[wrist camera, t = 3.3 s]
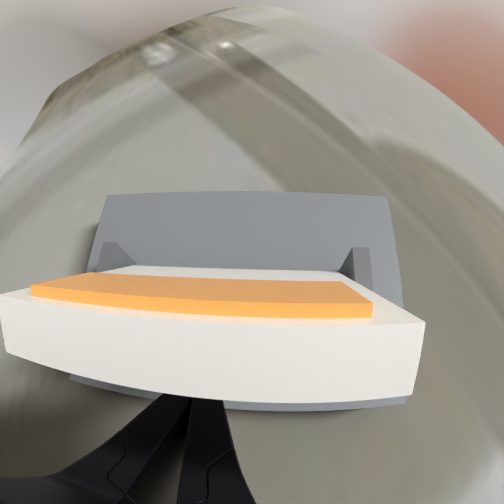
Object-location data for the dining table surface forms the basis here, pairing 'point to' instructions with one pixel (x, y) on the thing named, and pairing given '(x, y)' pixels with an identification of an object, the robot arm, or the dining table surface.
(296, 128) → the dining table surface
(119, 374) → the panel
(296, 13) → the dining table surface
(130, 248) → the base
